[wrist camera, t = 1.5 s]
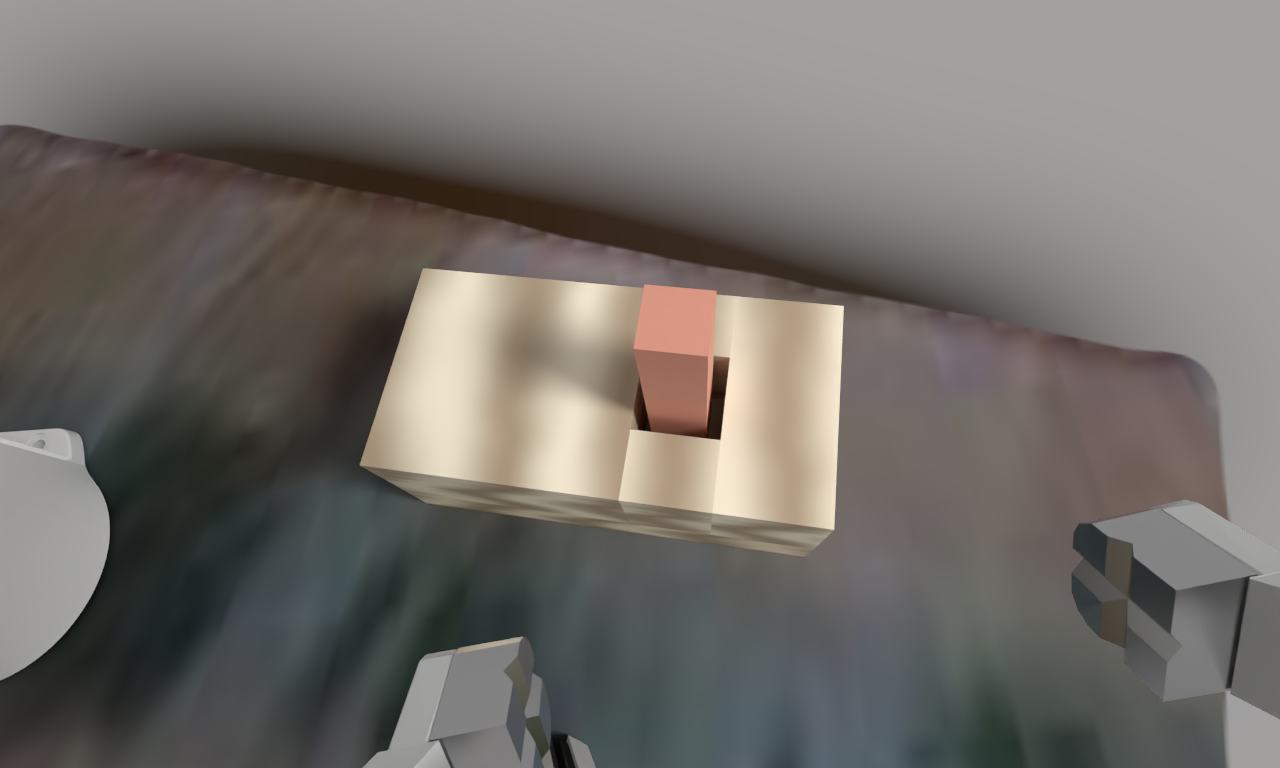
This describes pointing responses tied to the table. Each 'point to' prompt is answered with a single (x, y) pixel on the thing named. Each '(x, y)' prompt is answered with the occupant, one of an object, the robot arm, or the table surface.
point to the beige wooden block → (610, 414)
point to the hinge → (568, 755)
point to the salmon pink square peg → (676, 358)
